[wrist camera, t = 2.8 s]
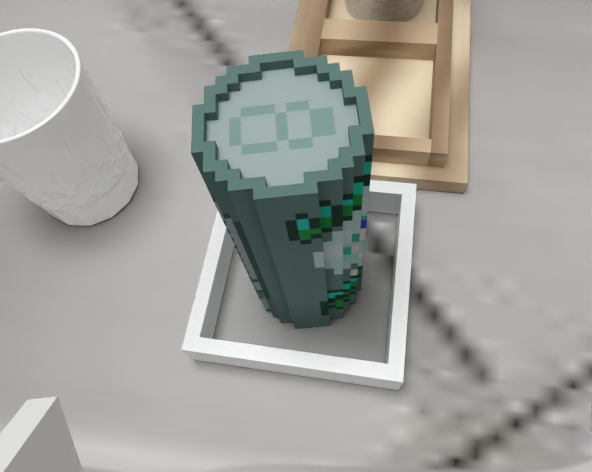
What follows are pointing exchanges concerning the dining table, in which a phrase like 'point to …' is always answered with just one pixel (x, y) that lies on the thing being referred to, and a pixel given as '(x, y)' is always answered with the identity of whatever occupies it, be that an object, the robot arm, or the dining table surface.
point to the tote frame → (300, 363)
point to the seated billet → (383, 9)
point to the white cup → (59, 131)
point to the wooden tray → (403, 84)
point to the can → (290, 178)
